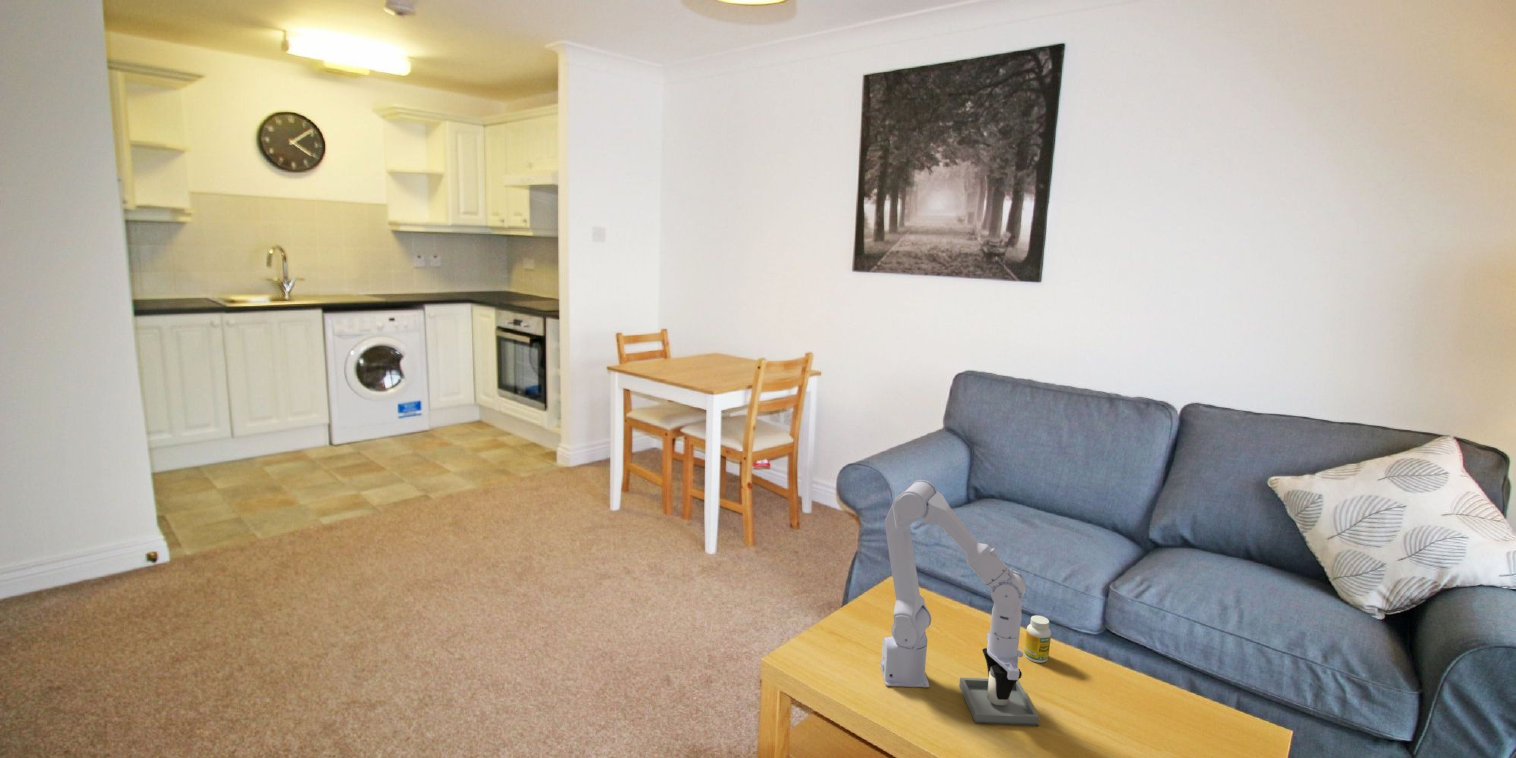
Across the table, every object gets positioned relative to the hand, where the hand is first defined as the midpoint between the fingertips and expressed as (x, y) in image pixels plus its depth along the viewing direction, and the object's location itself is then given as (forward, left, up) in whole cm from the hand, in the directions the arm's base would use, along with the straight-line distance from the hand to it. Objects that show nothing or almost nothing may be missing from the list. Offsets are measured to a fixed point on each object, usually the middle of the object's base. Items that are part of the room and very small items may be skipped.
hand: (998, 691), depth 151 cm
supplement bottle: (+15, +19, -3) cm, 24 cm away
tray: (0, 0, -3) cm, 3 cm away
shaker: (0, 0, -2) cm, 2 cm away
